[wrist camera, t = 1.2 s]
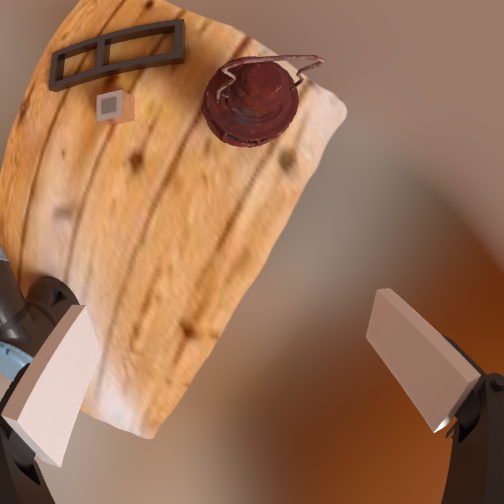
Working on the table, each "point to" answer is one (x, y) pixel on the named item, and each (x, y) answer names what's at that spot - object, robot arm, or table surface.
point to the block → (115, 108)
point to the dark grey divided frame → (103, 53)
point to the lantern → (253, 99)
